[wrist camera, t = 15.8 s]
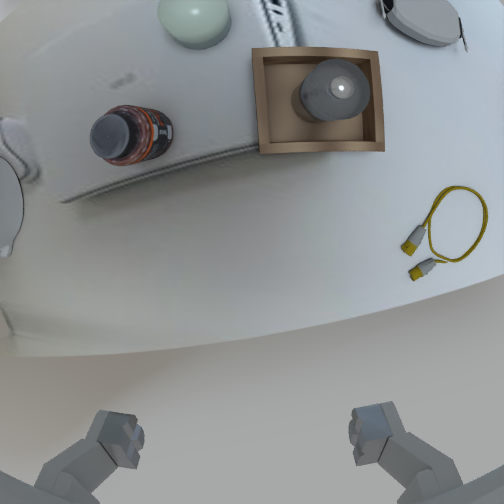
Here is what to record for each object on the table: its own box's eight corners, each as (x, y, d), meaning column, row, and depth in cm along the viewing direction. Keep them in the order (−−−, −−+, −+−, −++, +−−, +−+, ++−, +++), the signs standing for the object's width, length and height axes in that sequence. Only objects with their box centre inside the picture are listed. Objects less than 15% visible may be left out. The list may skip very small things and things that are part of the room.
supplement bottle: (182, 119, 33) (151, 114, 22) (163, 165, 35) (126, 181, 24) (138, 103, 32) (93, 95, 22) (120, 148, 34) (72, 158, 24)
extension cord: (394, 196, 36) (401, 199, 35) (483, 179, 35) (491, 182, 33) (400, 279, 41) (405, 286, 39) (482, 255, 39) (489, 260, 37)
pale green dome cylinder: (173, 53, 30) (158, 41, 24) (170, 5, 27) (157, -14, 22) (233, 45, 30) (229, 29, 24) (229, -4, 27) (224, -25, 22)
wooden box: (259, 151, 34) (260, 154, 30) (252, 59, 30) (251, 48, 26) (368, 148, 34) (384, 151, 29) (362, 60, 30) (377, 51, 25)
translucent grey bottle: (292, 123, 32) (312, 119, 21) (289, 80, 30) (307, 55, 19) (336, 123, 32) (375, 120, 21) (333, 80, 30) (370, 58, 19)
